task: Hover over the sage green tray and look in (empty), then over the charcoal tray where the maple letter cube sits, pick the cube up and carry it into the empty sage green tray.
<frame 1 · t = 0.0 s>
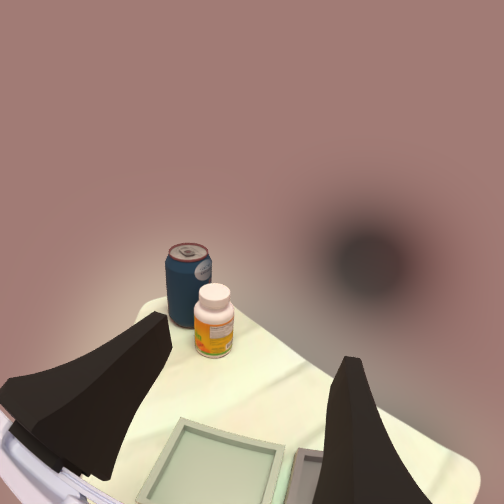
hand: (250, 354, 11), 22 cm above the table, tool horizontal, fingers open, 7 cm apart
sage tray: (214, 482, 21), on the table
soda can: (189, 317, 46), on the table
charcoal tray: (340, 503, 19), on the table
supplement bottle: (213, 347, 40), on the table
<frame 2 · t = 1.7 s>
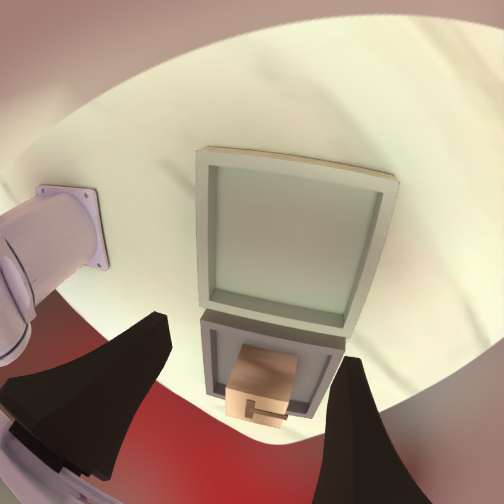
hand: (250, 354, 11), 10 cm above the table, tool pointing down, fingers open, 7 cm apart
sage tray: (288, 242, 19), on the table
charcoal tray: (268, 364, 26), on the table
letter cube: (267, 366, 25), resting on charcoal tray
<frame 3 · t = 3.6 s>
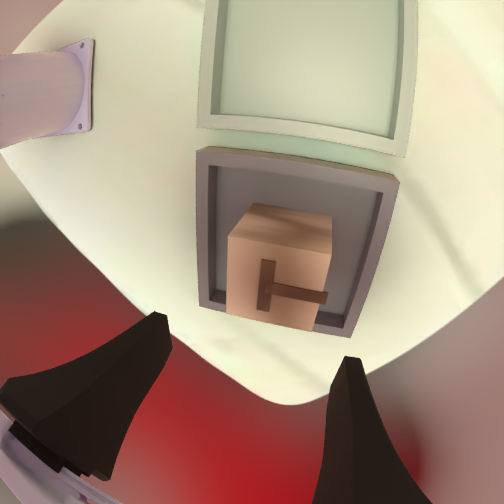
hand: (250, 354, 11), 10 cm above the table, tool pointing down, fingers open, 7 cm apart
sage tray: (310, 41, 13), on the table
charcoal tray: (288, 242, 19), on the table
letter cube: (287, 244, 19), resting on charcoal tray
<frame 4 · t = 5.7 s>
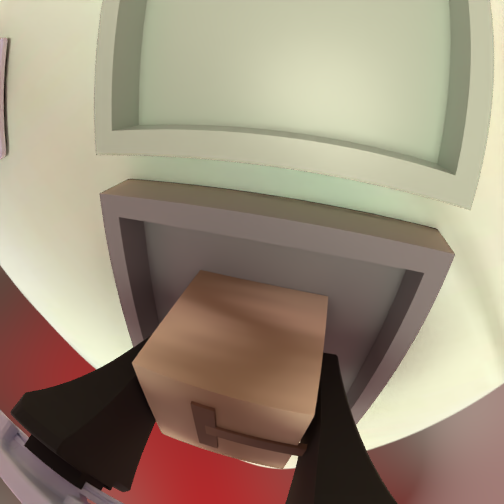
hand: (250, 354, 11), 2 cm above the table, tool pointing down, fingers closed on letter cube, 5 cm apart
charcoal tray: (259, 325, 12), on the table
letter cube: (257, 330, 12), resting on charcoal tray, touching gripper
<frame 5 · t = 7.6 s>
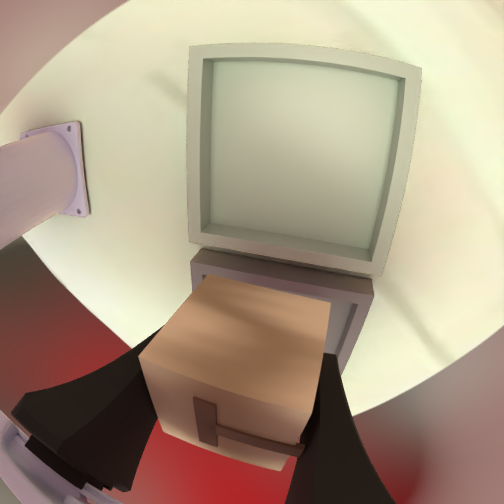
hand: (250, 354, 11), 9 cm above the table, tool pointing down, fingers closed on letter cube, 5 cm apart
sage tray: (297, 152, 15), on the table
charcoal tray: (275, 328, 21), on the table
letter cube: (261, 334, 12), point 7 cm above the table, touching gripper
when the fingers open (3 cm above the table, at t = 9.5 s): letter cube drops 2 cm, resting on sage tray.
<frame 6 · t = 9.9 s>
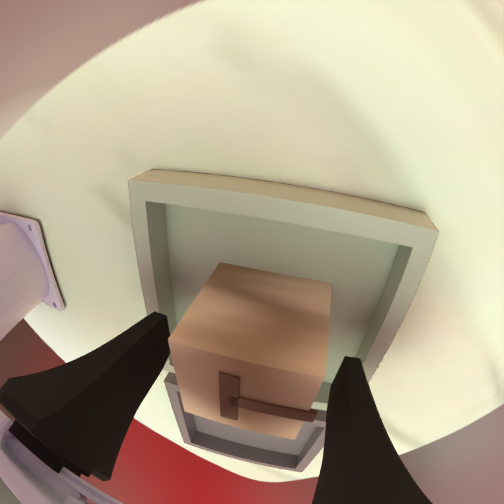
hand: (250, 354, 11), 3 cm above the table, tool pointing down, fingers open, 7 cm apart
sage tray: (268, 302, 14), on the table
charcoal tray: (250, 421, 20), on the table
letter cube: (269, 315, 14), resting on sage tray
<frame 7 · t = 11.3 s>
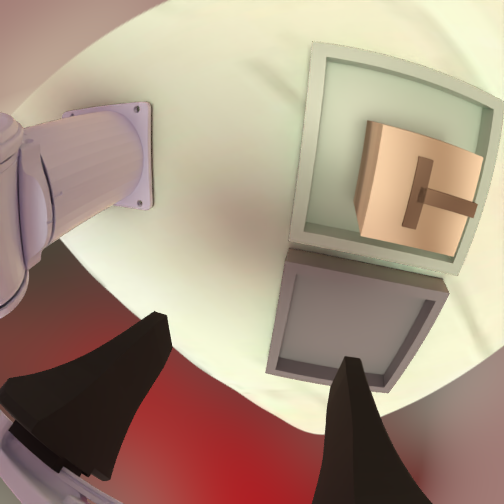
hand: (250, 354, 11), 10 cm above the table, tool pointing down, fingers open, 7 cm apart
sage tray: (399, 160, 15), on the table
charcoal tray: (349, 326, 21), on the table
letter cube: (400, 170, 15), resting on sage tray
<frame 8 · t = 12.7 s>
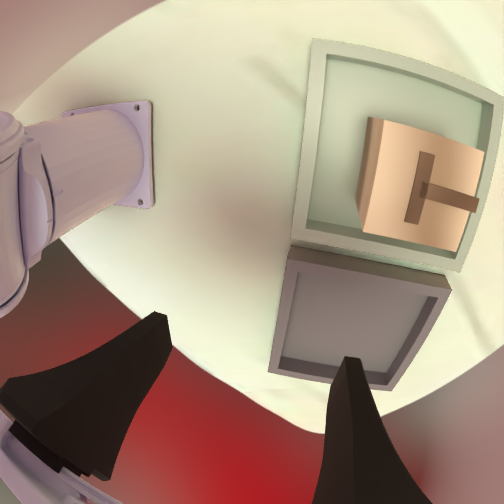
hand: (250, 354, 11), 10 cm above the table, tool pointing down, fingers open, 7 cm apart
sage tray: (400, 156, 15), on the table
charcoal tray: (351, 324, 21), on the table
letter cube: (401, 167, 15), resting on sage tray
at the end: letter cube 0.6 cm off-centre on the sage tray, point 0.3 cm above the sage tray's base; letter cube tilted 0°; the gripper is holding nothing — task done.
